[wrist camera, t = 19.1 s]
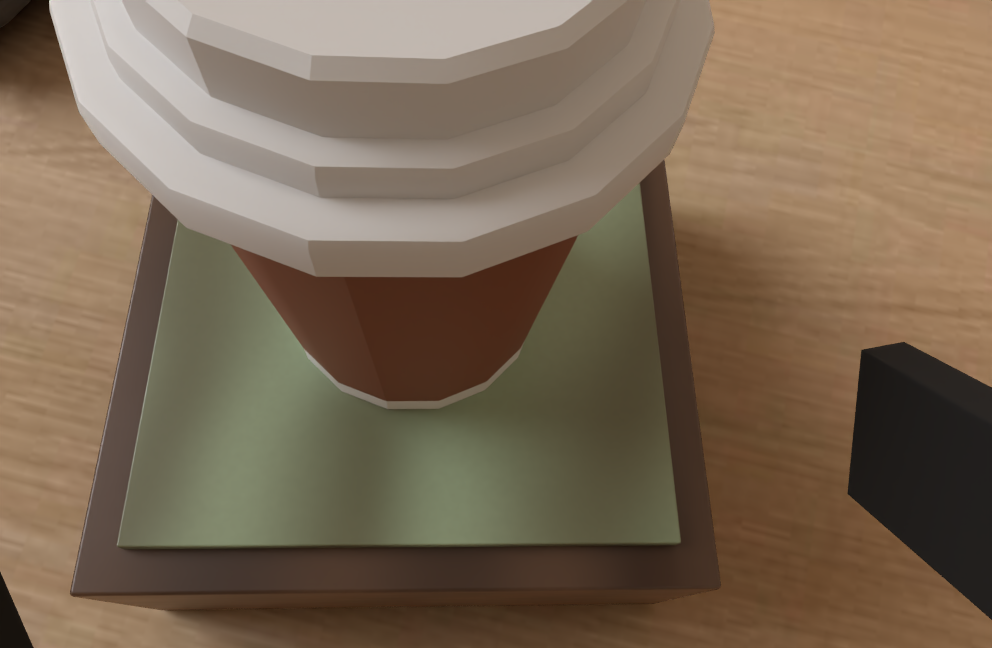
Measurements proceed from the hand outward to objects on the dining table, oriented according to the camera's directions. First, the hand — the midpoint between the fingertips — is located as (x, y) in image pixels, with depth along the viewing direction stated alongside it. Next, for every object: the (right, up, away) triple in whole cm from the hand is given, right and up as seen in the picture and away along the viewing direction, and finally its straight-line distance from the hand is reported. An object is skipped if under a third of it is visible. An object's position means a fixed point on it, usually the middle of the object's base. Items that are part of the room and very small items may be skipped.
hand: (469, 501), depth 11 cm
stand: (-2, +1, +14) cm, 15 cm away
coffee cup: (-2, +3, +9) cm, 9 cm away
